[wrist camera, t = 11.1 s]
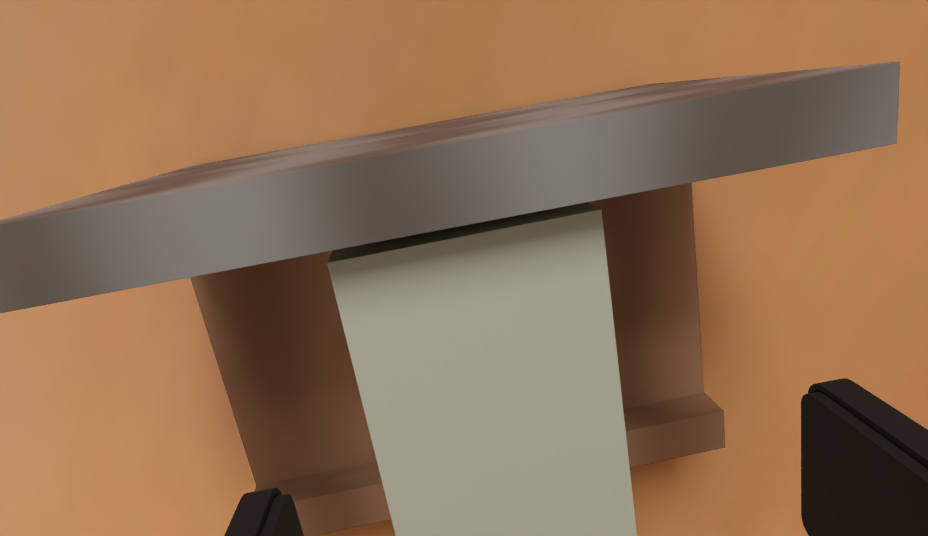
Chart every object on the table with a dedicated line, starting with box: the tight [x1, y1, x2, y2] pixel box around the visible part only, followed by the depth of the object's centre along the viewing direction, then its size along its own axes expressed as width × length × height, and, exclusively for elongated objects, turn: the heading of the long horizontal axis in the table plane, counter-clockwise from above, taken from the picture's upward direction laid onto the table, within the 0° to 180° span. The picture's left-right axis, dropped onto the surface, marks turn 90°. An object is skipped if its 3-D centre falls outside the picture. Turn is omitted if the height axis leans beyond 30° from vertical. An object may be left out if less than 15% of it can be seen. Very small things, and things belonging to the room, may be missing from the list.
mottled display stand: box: [0, 62, 900, 536], centre depth 19 cm, size 18×14×12 cm
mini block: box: [327, 202, 637, 536], centre depth 18 cm, size 6×9×8 cm, turn 10°
